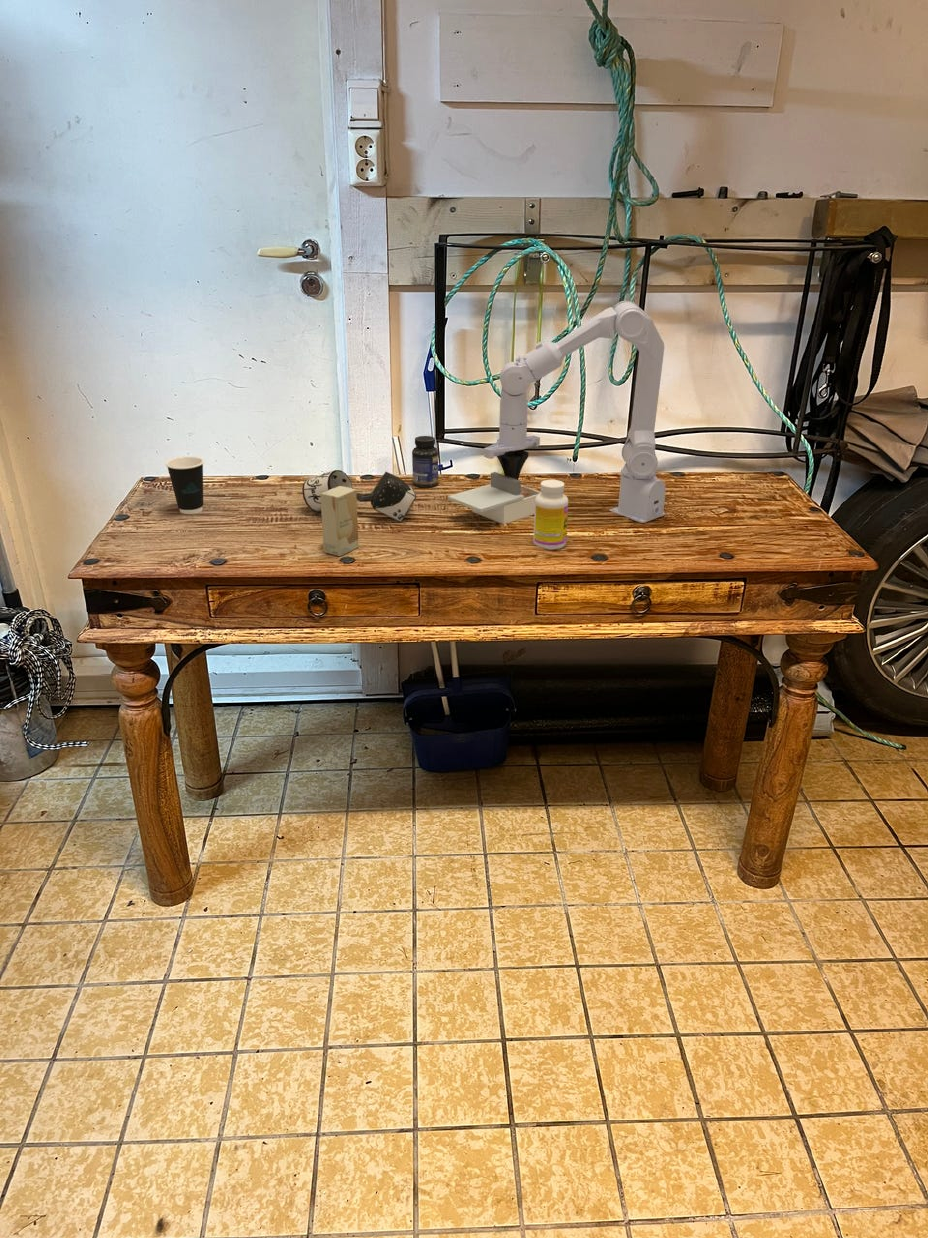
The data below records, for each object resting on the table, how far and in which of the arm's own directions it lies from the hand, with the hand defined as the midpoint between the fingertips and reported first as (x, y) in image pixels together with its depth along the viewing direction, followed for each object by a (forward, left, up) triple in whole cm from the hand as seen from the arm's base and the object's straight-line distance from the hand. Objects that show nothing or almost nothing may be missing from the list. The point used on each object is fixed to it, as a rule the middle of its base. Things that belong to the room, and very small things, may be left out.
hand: (511, 484), depth 203 cm
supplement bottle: (-18, +7, -7) cm, 21 cm away
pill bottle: (+27, +2, -7) cm, 28 cm away
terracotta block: (0, -1, -6) cm, 6 cm away
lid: (0, +7, -1) cm, 8 cm away
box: (0, +1, -6) cm, 6 cm away
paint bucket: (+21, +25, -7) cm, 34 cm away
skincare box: (+7, +40, -7) cm, 41 cm away
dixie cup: (+47, +52, -7) cm, 70 cm away
